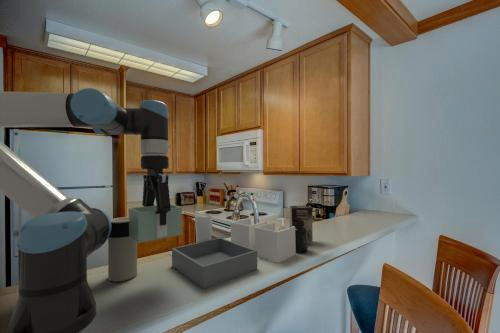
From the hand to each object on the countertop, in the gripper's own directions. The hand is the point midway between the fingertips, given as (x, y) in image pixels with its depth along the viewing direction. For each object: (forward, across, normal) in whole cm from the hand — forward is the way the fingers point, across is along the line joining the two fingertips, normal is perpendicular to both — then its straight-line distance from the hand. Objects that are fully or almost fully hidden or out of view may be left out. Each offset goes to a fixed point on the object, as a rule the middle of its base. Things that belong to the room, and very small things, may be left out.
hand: (155, 233), depth 71 cm
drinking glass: (+15, +15, -24) cm, 32 cm away
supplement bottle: (+15, -9, -53) cm, 56 cm away
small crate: (+1, 0, 0) cm, 1 cm away
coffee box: (+15, -3, -62) cm, 64 cm away
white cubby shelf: (+15, +1, -42) cm, 45 cm away
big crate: (+15, 0, -19) cm, 24 cm away
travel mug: (+15, +13, +6) cm, 21 cm away
